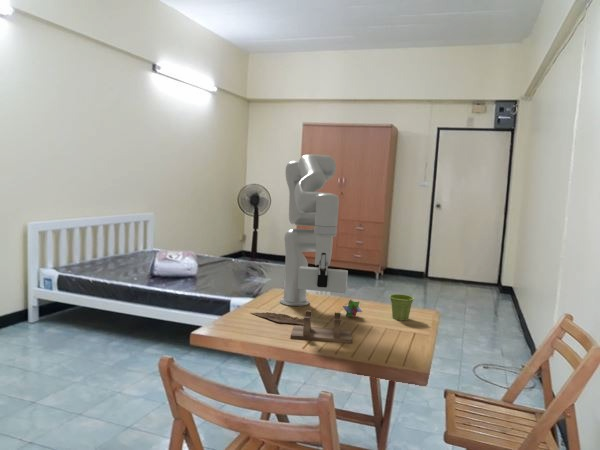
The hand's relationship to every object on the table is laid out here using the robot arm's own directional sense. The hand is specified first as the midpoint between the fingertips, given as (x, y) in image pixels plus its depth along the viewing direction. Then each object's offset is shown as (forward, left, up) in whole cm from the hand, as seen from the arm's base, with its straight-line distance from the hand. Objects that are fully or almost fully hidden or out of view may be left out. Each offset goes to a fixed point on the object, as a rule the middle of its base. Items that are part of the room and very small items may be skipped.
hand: (322, 284), depth 159 cm
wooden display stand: (0, +1, -17) cm, 17 cm away
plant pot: (-29, +31, -18) cm, 46 cm away
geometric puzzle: (-26, +12, -18) cm, 33 cm away
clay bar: (0, 0, -2) cm, 2 cm away
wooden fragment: (-16, -15, -18) cm, 28 cm away
